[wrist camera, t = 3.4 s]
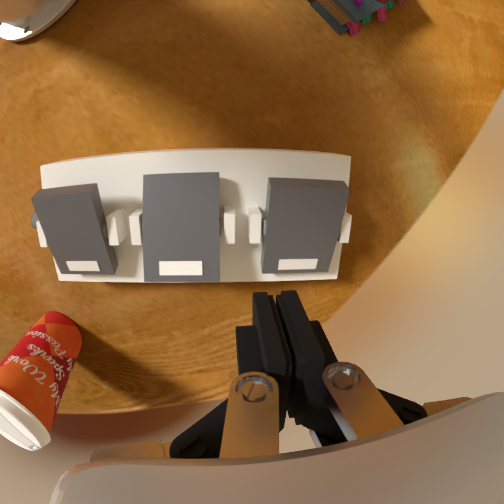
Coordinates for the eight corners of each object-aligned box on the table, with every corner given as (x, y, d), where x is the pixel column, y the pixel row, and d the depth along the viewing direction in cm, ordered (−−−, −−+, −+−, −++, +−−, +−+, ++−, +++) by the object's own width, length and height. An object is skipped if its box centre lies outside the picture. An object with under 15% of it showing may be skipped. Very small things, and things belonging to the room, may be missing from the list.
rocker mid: (147, 178, 19) (141, 174, 18) (221, 176, 20) (220, 171, 18) (148, 278, 20) (142, 282, 18) (221, 278, 20) (221, 282, 19)
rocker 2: (266, 175, 18) (269, 186, 17) (343, 178, 18) (352, 190, 17) (258, 260, 22) (260, 274, 21) (324, 258, 23) (329, 272, 22)
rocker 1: (40, 187, 16) (29, 199, 15) (99, 180, 17) (91, 192, 16) (66, 261, 21) (59, 274, 20) (120, 261, 21) (115, 275, 20)
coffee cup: (103, 340, 29) (59, 448, 15) (71, 367, 30) (31, 458, 16) (50, 288, 26) (-23, 381, 12) (25, 323, 27) (-34, 405, 13)
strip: (39, 164, 21) (0, 175, 15) (332, 152, 24) (363, 158, 18) (53, 262, 25) (23, 291, 19) (322, 259, 27) (346, 291, 22)
